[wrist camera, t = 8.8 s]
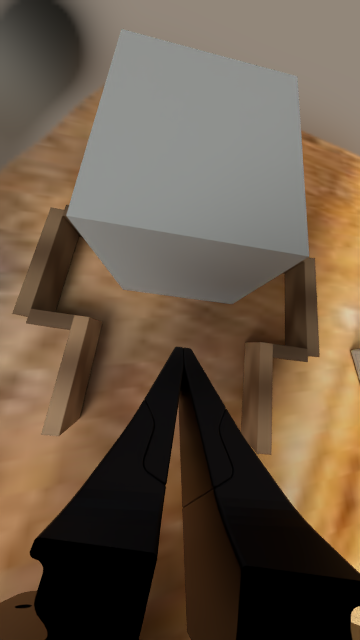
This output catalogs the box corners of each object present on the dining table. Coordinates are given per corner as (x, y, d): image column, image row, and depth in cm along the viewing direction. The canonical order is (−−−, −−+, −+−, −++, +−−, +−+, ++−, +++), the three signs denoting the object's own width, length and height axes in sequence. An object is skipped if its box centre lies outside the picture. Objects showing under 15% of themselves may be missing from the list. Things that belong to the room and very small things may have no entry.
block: (231, 304, 16) (309, 256, 7) (123, 290, 15) (66, 215, 6) (235, 202, 19) (297, 76, 10) (143, 185, 18) (121, 28, 9)
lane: (296, 439, 14) (347, 475, 10) (9, 411, 12) (-64, 443, 8) (292, 193, 20) (324, 155, 16) (95, 148, 18) (75, 92, 14)
